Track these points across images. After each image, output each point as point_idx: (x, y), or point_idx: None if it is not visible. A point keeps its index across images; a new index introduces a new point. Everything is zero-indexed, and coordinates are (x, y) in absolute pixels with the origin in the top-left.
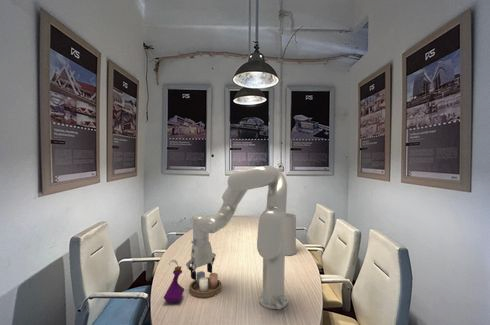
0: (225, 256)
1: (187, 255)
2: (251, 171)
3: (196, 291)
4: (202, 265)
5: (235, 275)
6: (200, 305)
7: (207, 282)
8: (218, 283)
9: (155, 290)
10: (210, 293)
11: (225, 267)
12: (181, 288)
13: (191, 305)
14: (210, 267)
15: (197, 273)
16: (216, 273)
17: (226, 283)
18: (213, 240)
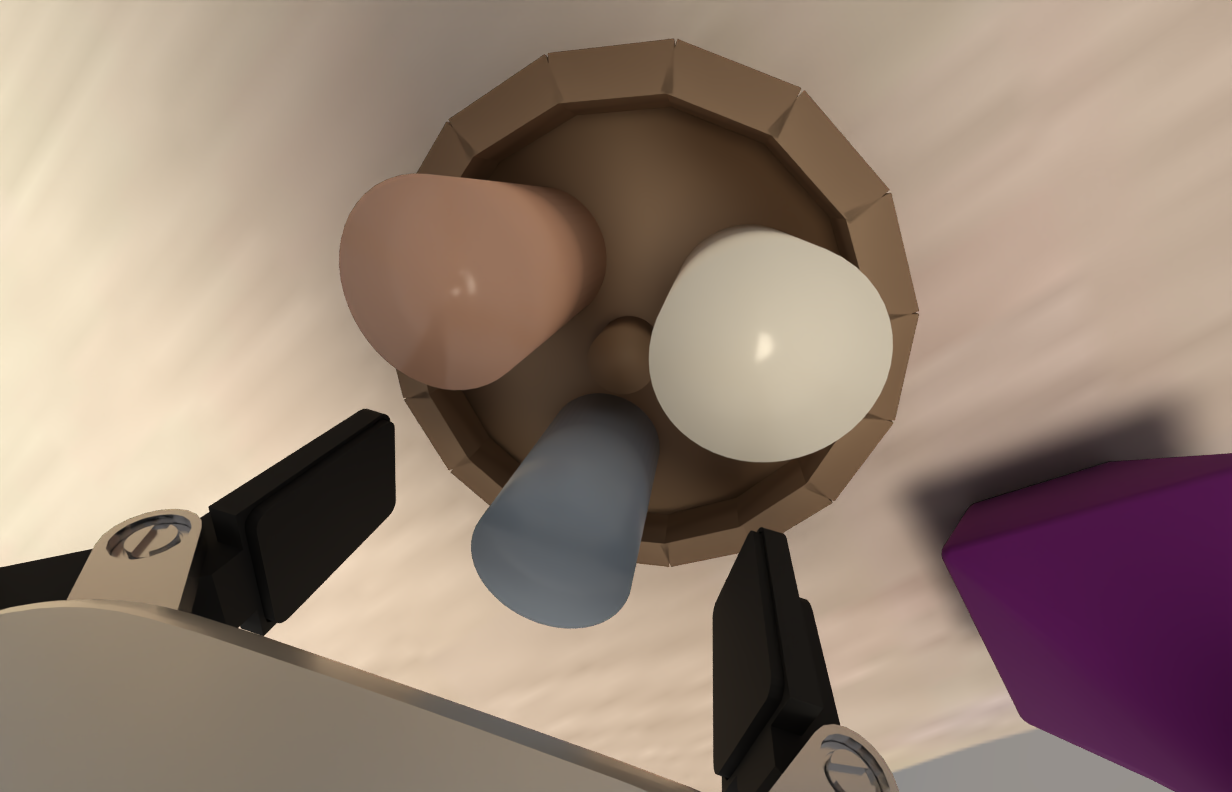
0: (25, 546)
1: None
2: None
3: None
4: (565, 760)
5: (119, 205)
6: (1110, 93)
7: (748, 238)
8: None
9: (897, 768)
10: (805, 100)
11: (126, 433)
12: (1091, 590)
13: (1145, 242)
14: (302, 497)
15: (594, 608)
16: (343, 266)
17: (333, 175)
18: None
